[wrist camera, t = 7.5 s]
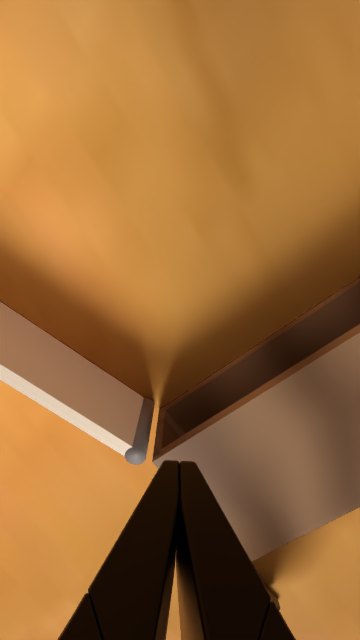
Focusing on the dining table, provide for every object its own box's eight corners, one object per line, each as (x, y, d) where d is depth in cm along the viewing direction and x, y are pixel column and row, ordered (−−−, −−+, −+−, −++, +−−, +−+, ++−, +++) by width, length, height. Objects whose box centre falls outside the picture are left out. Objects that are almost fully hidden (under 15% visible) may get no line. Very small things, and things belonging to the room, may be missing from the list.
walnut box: (234, 494, 23) (248, 563, 18) (159, 410, 21) (152, 461, 16) (447, 375, 20) (532, 420, 15) (384, 260, 18) (460, 269, 13)
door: (157, 403, 21) (150, 454, 16) (141, 422, 21) (130, 476, 16) (-61, 257, 18) (-151, 265, 13) (-74, 282, 18) (-166, 298, 13)
